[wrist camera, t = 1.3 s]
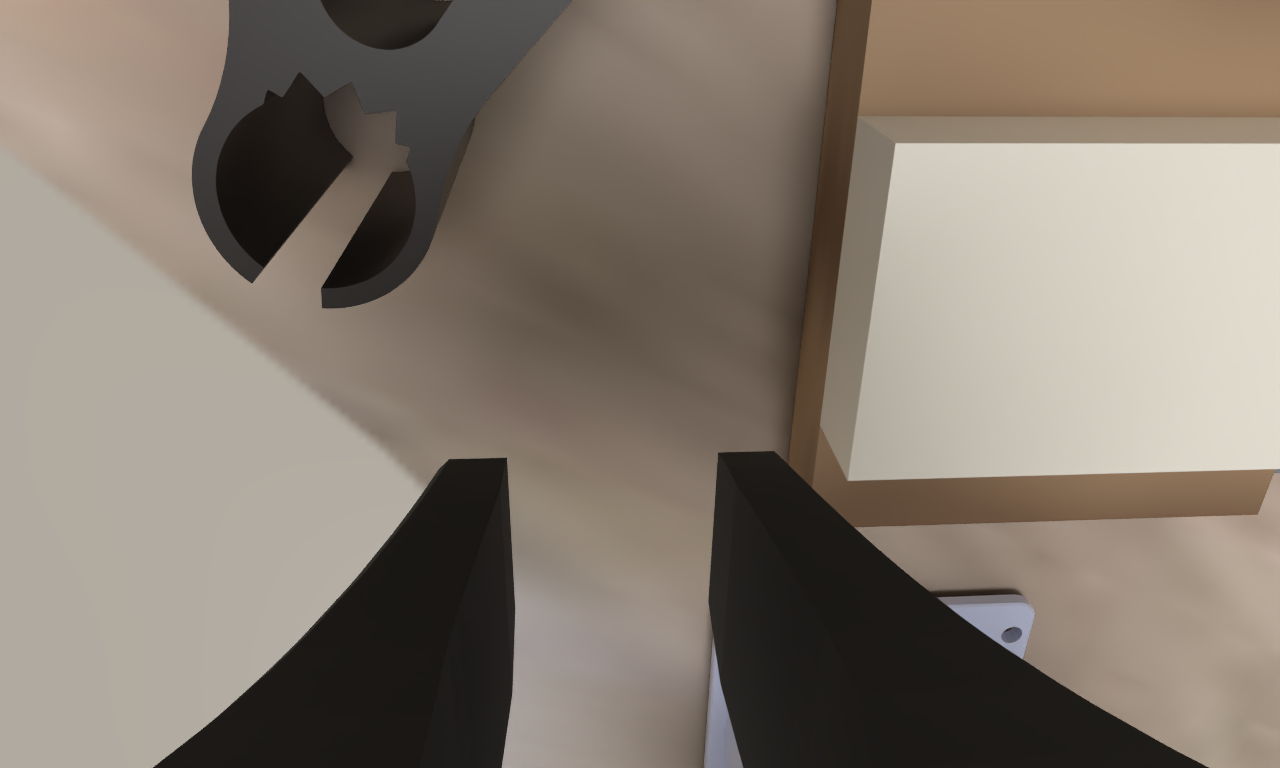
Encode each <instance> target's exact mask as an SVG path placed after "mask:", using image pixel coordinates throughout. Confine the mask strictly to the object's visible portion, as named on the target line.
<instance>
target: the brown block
mask: <svg viewBox="0 0 1280 768" xmlns="http://www.w3.org/2000/svg"><path fill="white" fill-rule="evenodd" d="M858 116H1026V117H1280V0H838V2H837V11H836V21H835V30H834V39H833V49H832V58H831V67H830V77H829V86H828V95H827V105H826V114H825V123H824V133H823V142H822V152H821V161H820V170H819V180H818V189H817V198H816V208H815V217H814V226H813V236H812V245H811V254H810V264H809V273H808V283H807V292H806V301H805V311H804V320H803V329H802V339H801V348H800V357H799V367H798V376H797V385H796V395H795V404H794V413H793V423H792V432H791V442H790V451H789V460H788V465H789V466H790V467H791V468H792V469H793V470H794V471H795V472H796V473H797V474H798V475H799V476H800V477H801V478H803V479H804V480H805V481H806V482H807V483H808V484H809V485H810V486H811V487H812V488H813V489H814V490H815V491H816V492H817V493H818V494H819V495H820V496H821V497H822V498H823V499H824V500H825V501H826V502H827V503H828V504H829V505H831V506H832V507H833V508H834V509H835V510H836V511H837V512H838V513H839V514H840V515H841V516H842V517H843V518H844V519H845V520H846V521H848V522H849V523H850V524H851V525H852V526H853V527H875V526H907V525H939V524H971V523H1003V522H1034V521H1066V520H1098V519H1130V518H1162V517H1193V516H1225V515H1257V514H1258V512H1259V510H1260V507H1261V505H1262V502H1263V499H1264V497H1265V494H1266V492H1267V489H1268V487H1269V484H1270V481H1271V479H1272V476H1273V474H1274V471H1275V469H1260V470H1223V471H1187V472H1151V473H1114V474H1078V475H1042V476H1006V477H969V478H933V479H897V480H860V481H847V479H846V477H845V475H844V473H843V471H842V469H841V467H840V465H839V463H838V461H837V459H836V457H835V455H834V453H833V451H832V449H831V446H830V444H829V442H828V440H827V438H826V436H825V434H824V432H823V430H822V428H821V426H820V421H821V413H822V404H823V396H824V388H825V380H826V372H827V364H828V356H829V347H830V339H831V331H832V323H833V315H834V307H835V298H836V290H837V282H838V274H839V266H840V258H841V249H842V241H843V233H844V225H845V217H846V209H847V200H848V192H849V184H850V176H851V168H852V160H853V151H854V143H855V135H856V127H857V119H858Z"/></svg>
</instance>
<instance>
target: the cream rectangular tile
mask: <svg viewBox="0 0 1280 768" xmlns="http://www.w3.org/2000/svg"><path fill="white" fill-rule="evenodd" d="M820 426H821V428H822V430H823V432H824V434H825V436H826V438H827V440H828V442H829V444H830V446H831V449H832V451H833V453H834V455H835V457H836V459H837V461H838V463H839V465H840V467H841V469H842V471H843V473H844V475H845V477H846V479H847V481H860V480H897V479H933V478H969V477H1006V476H1042V475H1078V474H1114V473H1151V472H1187V471H1223V470H1260V469H1280V117H1026V116H858V119H857V127H856V135H855V143H854V151H853V160H852V168H851V176H850V184H849V192H848V200H847V209H846V217H845V225H844V233H843V241H842V249H841V258H840V266H839V274H838V282H837V290H836V298H835V307H834V315H833V323H832V331H831V339H830V347H829V356H828V364H827V372H826V380H825V388H824V396H823V404H822V413H821V421H820Z"/></svg>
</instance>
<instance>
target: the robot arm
mask: <svg viewBox="0 0 1280 768" xmlns="http://www.w3.org/2000/svg"><path fill="white" fill-rule="evenodd" d="M709 609H710V616H711V623H712V630H713V642H712V656H711V670H710V684H709V699H708V713H707V727H706V741H705V755H704V768H1208V767H1206V766H1204V765H1203V764H1201V763H1199V762H1197V761H1195V760H1193V759H1191V758H1189V757H1187V756H1185V755H1183V754H1181V753H1179V752H1177V751H1175V750H1174V749H1172V748H1170V747H1168V746H1166V745H1164V744H1163V743H1161V742H1159V741H1157V740H1155V739H1154V738H1152V737H1150V736H1148V735H1147V734H1145V733H1143V732H1141V731H1140V730H1138V729H1136V728H1134V727H1133V726H1131V725H1129V724H1127V723H1125V722H1124V721H1122V720H1120V719H1118V718H1117V717H1115V716H1113V715H1111V714H1110V713H1108V712H1106V711H1104V710H1103V709H1101V708H1099V707H1097V706H1095V705H1094V704H1092V703H1090V702H1089V701H1087V700H1085V699H1084V698H1082V697H1081V696H1079V695H1077V694H1076V693H1074V692H1072V691H1071V690H1069V689H1067V688H1066V687H1064V686H1063V685H1061V684H1059V683H1058V682H1056V681H1054V680H1053V679H1051V678H1050V677H1048V676H1047V675H1045V674H1044V673H1042V672H1041V671H1039V670H1038V669H1036V668H1035V667H1033V666H1032V665H1030V664H1029V663H1027V662H1026V661H1024V660H1023V657H1024V654H1025V650H1026V646H1027V643H1028V639H1029V635H1030V632H1031V628H1032V624H1033V621H1034V613H1035V611H1034V610H1033V608H1032V606H1031V605H1030V603H1029V602H1028V600H1027V599H1026V598H1025V597H1023V596H1021V595H1014V594H1012V595H985V596H959V597H936V596H934V595H933V594H932V593H930V592H929V591H928V590H927V589H925V588H924V587H923V586H922V585H920V584H919V583H918V582H916V581H915V580H914V579H913V578H912V577H910V576H909V575H908V574H907V573H906V572H904V571H903V570H902V569H901V568H900V567H898V566H897V565H896V564H895V563H894V562H892V561H891V560H890V559H889V558H888V557H887V556H885V555H884V554H883V553H882V552H881V551H880V550H879V549H877V548H876V547H875V546H874V545H873V544H872V543H871V542H870V541H868V540H867V539H866V538H865V537H864V536H863V535H862V534H861V533H860V532H858V531H857V530H856V529H855V528H854V527H853V526H852V525H851V524H850V523H849V522H848V521H846V520H845V519H844V518H843V517H842V516H841V515H840V514H839V513H838V512H837V511H836V510H835V509H834V508H833V507H832V506H831V505H829V504H828V503H827V502H826V501H825V500H824V499H823V498H822V497H821V496H820V495H819V494H818V493H817V492H816V491H815V490H814V489H813V488H812V487H811V486H810V485H809V484H808V483H807V482H806V481H805V480H804V479H803V478H801V477H800V476H799V475H798V474H797V473H796V472H795V471H794V470H793V469H792V468H791V467H790V466H789V465H788V464H787V463H786V462H785V461H784V460H783V459H782V458H781V457H780V456H779V455H778V454H776V453H775V452H774V451H764V452H724V453H718V465H717V480H716V495H715V510H714V525H713V541H712V556H711V571H710V586H709ZM1011 627H1013V628H1012V629H1010V630H1009V631H1006V632H1004V631H1005V630H1006V629H1008V628H1011ZM514 628H515V598H514V580H513V561H512V543H511V525H510V507H509V489H508V470H507V458H484V459H449V460H448V461H447V462H446V463H445V464H444V465H443V466H442V467H441V468H440V469H439V470H438V471H437V473H436V474H435V476H434V477H433V479H432V480H431V482H430V483H429V485H428V486H427V488H426V489H425V490H424V492H423V493H422V495H421V496H420V498H419V499H418V500H417V502H416V503H415V504H414V506H413V507H412V509H411V510H410V511H409V513H408V514H407V515H406V517H405V518H404V519H403V521H402V522H401V523H400V525H399V526H398V527H397V529H396V530H395V531H394V533H393V534H392V535H391V536H390V537H389V539H388V540H387V541H386V542H385V544H384V545H383V546H382V547H381V548H380V550H379V551H378V552H377V554H376V555H375V556H374V557H373V558H372V560H371V561H370V562H369V563H368V564H367V566H366V567H365V568H364V569H363V571H362V572H361V573H360V574H359V575H358V577H357V578H356V579H355V580H354V581H353V582H352V584H351V585H350V586H349V587H348V588H347V589H346V591H344V592H343V594H342V595H341V596H340V597H339V598H338V599H337V600H336V601H335V603H333V605H331V607H330V608H329V609H328V610H327V611H326V612H325V613H324V614H323V615H322V617H320V618H319V620H318V621H317V622H316V623H315V624H314V625H313V626H312V627H311V628H310V629H309V631H308V632H307V633H306V634H305V635H304V636H303V637H302V638H301V639H300V640H299V641H298V642H297V643H296V644H295V645H294V646H293V647H292V648H291V649H290V650H289V651H288V652H287V653H286V654H285V655H284V656H283V657H282V658H281V659H280V660H279V661H278V662H277V663H276V664H275V665H274V666H273V667H272V668H271V669H269V671H267V672H266V673H265V674H264V675H263V676H262V677H261V678H260V679H259V680H258V681H257V682H256V683H254V684H253V685H252V686H251V687H250V688H249V689H248V690H247V691H246V692H245V693H243V694H242V695H241V696H240V697H239V698H238V699H237V700H236V701H235V702H233V703H232V704H231V705H230V706H229V707H228V708H227V709H226V710H225V711H223V712H222V713H221V714H220V715H219V716H218V717H217V718H215V719H214V720H213V721H212V722H210V723H209V724H208V725H207V726H206V727H204V728H203V729H202V730H201V731H199V732H198V733H197V734H196V735H194V736H193V737H192V738H190V739H189V740H188V741H187V742H186V743H184V744H183V745H181V746H180V747H179V748H178V749H176V750H175V751H174V752H173V753H171V754H170V755H169V756H167V757H166V758H165V759H163V760H162V761H161V762H160V763H158V764H157V765H156V766H155V767H153V768H502V761H503V754H504V747H505V740H506V733H507V726H508V719H509V712H510V705H511V698H512V686H513V659H514Z"/></svg>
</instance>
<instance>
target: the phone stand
mask: <svg viewBox="0 0 1280 768" xmlns="http://www.w3.org/2000/svg"><path fill="white" fill-rule="evenodd" d="M571 1H572V0H453V1H445V2H443V1H435V0H229V38H228V48H227V55H226V61H225V67H224V72H223V76H222V80H221V84H220V87H219V90H218V94H217V97H216V100H215V102H214V105H213V107H212V110H211V112H210V114H209V116H208V119H207V121H206V123H205V125H204V127H203V129H202V131H201V133H200V136H199V138H198V141H197V144H196V148H195V152H194V157H193V165H192V186H193V194H194V199H195V203H196V207H197V211H198V214H199V217H200V219H201V222H202V224H203V226H204V228H205V231H206V232H207V234H208V236H209V238H210V240H211V241H212V243H213V244H214V246H215V247H216V249H217V250H218V251H219V253H220V254H221V255H222V257H223V258H224V259H225V260H226V261H227V262H228V263H229V264H230V265H231V266H232V267H233V268H234V269H235V270H236V271H237V272H238V273H239V274H240V275H241V276H243V277H244V278H245V279H246V280H248V281H249V282H251V283H253V282H254V280H255V279H256V278H257V277H258V275H259V274H260V273H261V272H262V270H263V269H264V268H265V267H266V265H267V264H268V263H269V262H270V260H271V259H272V258H273V257H274V255H275V254H276V253H277V252H278V250H279V249H280V248H281V247H282V245H283V244H284V243H285V242H286V240H287V239H288V238H289V237H290V235H291V234H292V233H293V232H294V230H295V229H296V228H297V227H298V225H299V224H300V223H301V222H302V220H303V219H304V218H305V217H306V215H307V214H308V213H309V212H310V210H311V209H312V208H313V207H314V205H315V204H316V203H317V202H318V200H319V199H320V198H321V197H322V195H323V194H324V193H325V192H326V190H327V189H328V188H329V187H330V185H331V184H332V183H333V182H334V180H335V179H336V178H337V177H338V175H339V174H340V173H341V172H342V170H343V169H344V168H345V167H346V165H347V164H348V163H349V161H350V160H351V159H352V157H353V156H352V155H350V154H349V153H348V152H347V151H346V150H345V149H344V148H343V147H342V146H341V144H340V143H339V142H338V141H337V139H336V138H335V136H334V134H333V133H332V131H331V129H330V127H329V124H328V122H327V119H326V116H325V112H324V106H323V97H326V96H328V95H330V94H331V93H333V92H335V91H336V90H338V89H340V88H341V87H343V86H345V85H347V84H348V83H350V82H351V83H353V86H354V89H355V91H356V94H357V96H358V99H359V102H360V104H361V107H362V109H363V112H364V113H365V114H370V113H380V112H390V111H396V112H397V116H396V144H400V145H404V146H408V147H410V148H411V149H410V152H409V155H408V158H407V161H406V162H407V165H408V167H409V170H410V171H408V172H392V173H391V175H390V177H389V178H388V180H387V182H386V183H385V185H384V186H383V188H382V190H381V191H380V193H379V195H378V196H377V198H376V199H375V201H374V203H373V204H372V206H371V208H370V209H369V211H368V213H367V214H366V216H365V217H364V219H363V221H362V222H361V224H360V226H359V227H358V229H357V231H356V232H355V234H354V235H353V237H352V239H351V240H350V242H349V244H348V245H347V247H346V249H345V250H344V252H343V253H342V255H341V257H340V258H339V260H338V262H337V263H336V265H335V267H334V268H333V270H332V271H331V273H330V275H329V276H328V278H327V280H326V281H325V283H324V285H323V286H322V288H321V294H322V308H345V307H352V306H356V305H360V304H364V303H367V302H370V301H373V300H375V299H378V298H380V297H382V296H384V295H386V294H387V293H389V292H391V291H392V290H394V289H395V288H397V287H398V286H399V285H400V284H402V283H403V282H404V281H405V280H406V279H407V278H408V277H409V276H410V275H411V274H412V273H413V272H414V271H415V270H416V268H417V267H418V266H419V264H420V263H421V261H422V260H423V258H424V257H425V255H426V253H427V251H428V249H429V246H430V244H431V242H432V239H433V236H434V233H435V231H436V228H437V225H438V223H439V220H440V217H441V215H442V212H443V209H444V207H445V204H446V201H447V199H448V196H449V193H450V190H451V188H452V185H453V182H454V180H455V177H456V174H457V172H458V169H459V166H460V164H461V161H462V158H463V156H464V153H465V150H466V147H467V145H468V142H469V139H470V137H471V134H472V130H473V126H474V120H475V116H476V114H477V113H478V111H479V110H480V108H481V107H482V106H483V104H484V103H485V102H486V101H487V99H488V98H489V97H490V96H491V94H492V93H493V92H494V91H495V90H496V89H497V87H498V86H499V85H500V84H501V83H502V82H503V80H504V79H505V78H506V77H507V76H508V75H509V73H510V72H511V71H512V70H513V69H514V68H515V66H516V65H517V64H518V63H519V62H520V61H521V59H522V58H523V57H524V56H525V55H526V54H527V52H528V51H529V50H530V49H531V48H532V47H533V45H534V44H535V43H536V42H537V41H538V40H539V38H540V37H541V36H542V35H543V34H544V33H545V31H546V30H547V29H548V28H549V27H550V26H551V24H552V23H553V22H554V21H555V20H556V19H557V17H558V16H559V15H560V14H561V13H562V12H563V11H564V9H565V8H566V7H567V6H568V5H569V4H570V2H571Z"/></svg>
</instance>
